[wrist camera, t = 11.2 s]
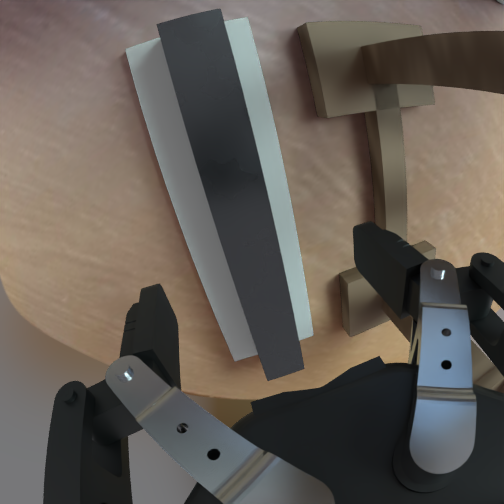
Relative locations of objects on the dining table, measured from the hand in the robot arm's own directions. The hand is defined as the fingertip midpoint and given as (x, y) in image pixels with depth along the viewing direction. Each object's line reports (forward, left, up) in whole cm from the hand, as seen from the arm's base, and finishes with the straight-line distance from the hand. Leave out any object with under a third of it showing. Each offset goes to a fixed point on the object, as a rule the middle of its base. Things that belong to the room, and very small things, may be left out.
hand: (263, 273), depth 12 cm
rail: (+1, 0, -8) cm, 8 cm away
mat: (+1, 0, -8) cm, 8 cm away
